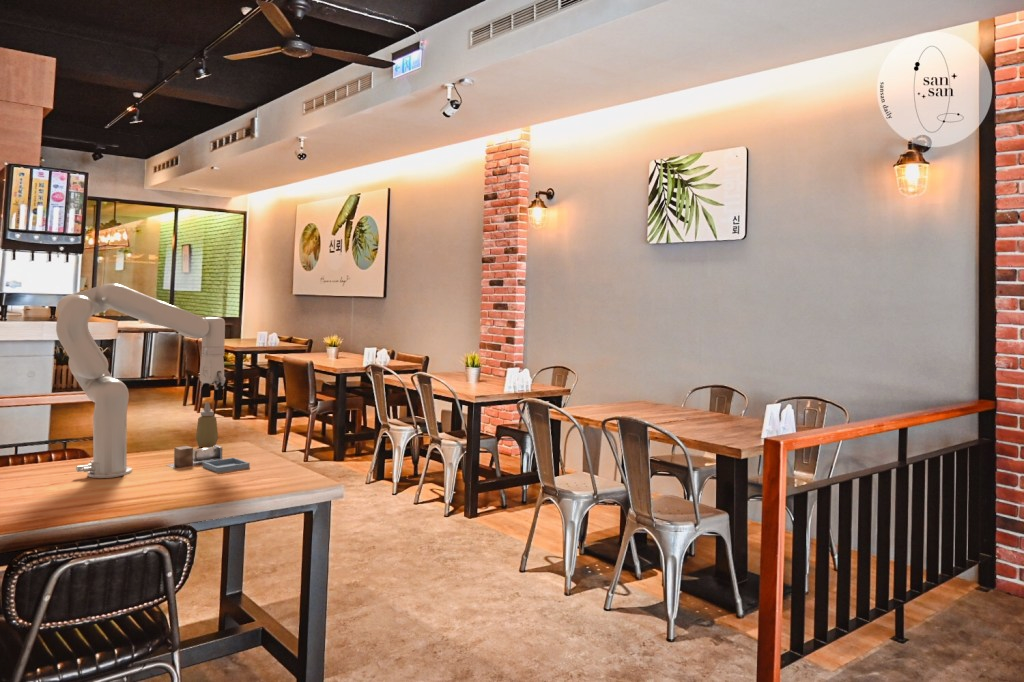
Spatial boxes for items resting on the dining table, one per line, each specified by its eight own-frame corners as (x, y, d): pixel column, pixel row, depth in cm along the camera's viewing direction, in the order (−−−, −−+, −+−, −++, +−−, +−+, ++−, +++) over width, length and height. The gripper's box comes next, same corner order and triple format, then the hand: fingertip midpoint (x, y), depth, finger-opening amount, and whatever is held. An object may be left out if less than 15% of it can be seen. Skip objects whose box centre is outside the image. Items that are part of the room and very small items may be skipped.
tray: (217, 474, 231) (217, 467, 231) (202, 468, 239) (202, 462, 239) (249, 469, 240) (249, 462, 240) (234, 463, 247) (234, 457, 247)
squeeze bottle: (195, 446, 276) (196, 401, 275) (217, 444, 279) (218, 400, 278) (195, 449, 268) (196, 403, 267) (218, 448, 272) (218, 403, 271)
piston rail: (174, 469, 236) (174, 468, 236) (166, 466, 240) (166, 465, 240) (227, 462, 249) (227, 460, 249) (218, 458, 254) (218, 457, 254)
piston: (197, 463, 242) (197, 450, 242) (191, 460, 246) (191, 448, 246) (222, 459, 249) (222, 447, 249) (215, 457, 252) (215, 444, 252)
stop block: (179, 466, 238) (179, 449, 238) (174, 464, 241) (174, 447, 241) (192, 464, 241) (193, 447, 241) (187, 462, 244) (187, 445, 244)
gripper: (191, 350, 252) (190, 397, 252) (214, 353, 240) (213, 402, 241) (212, 350, 257) (211, 395, 258) (234, 352, 246) (233, 400, 247)
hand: (212, 398), depth 250 cm, fingers open, 9 cm apart
